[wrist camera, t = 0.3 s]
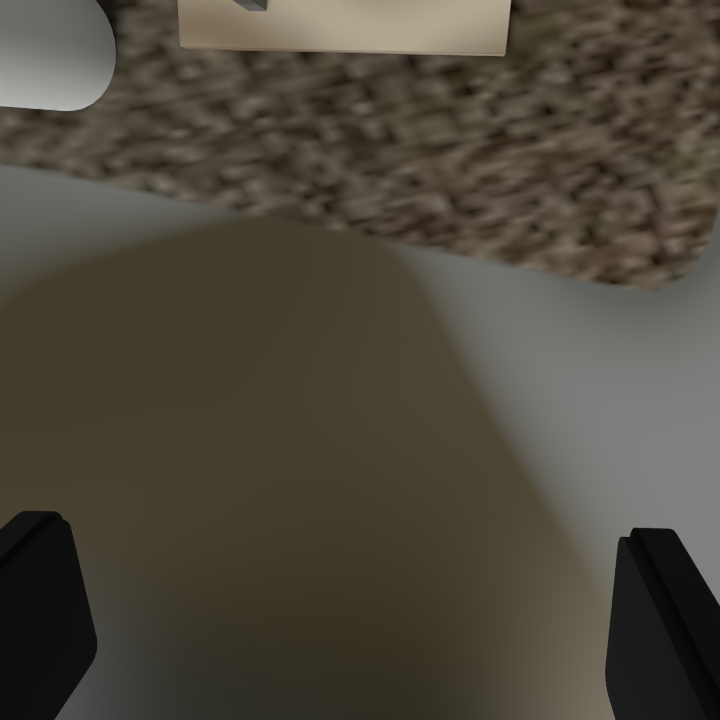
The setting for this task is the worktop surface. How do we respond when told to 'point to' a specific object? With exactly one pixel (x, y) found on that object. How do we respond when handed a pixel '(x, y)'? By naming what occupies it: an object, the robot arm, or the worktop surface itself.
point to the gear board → (347, 26)
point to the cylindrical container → (54, 53)
